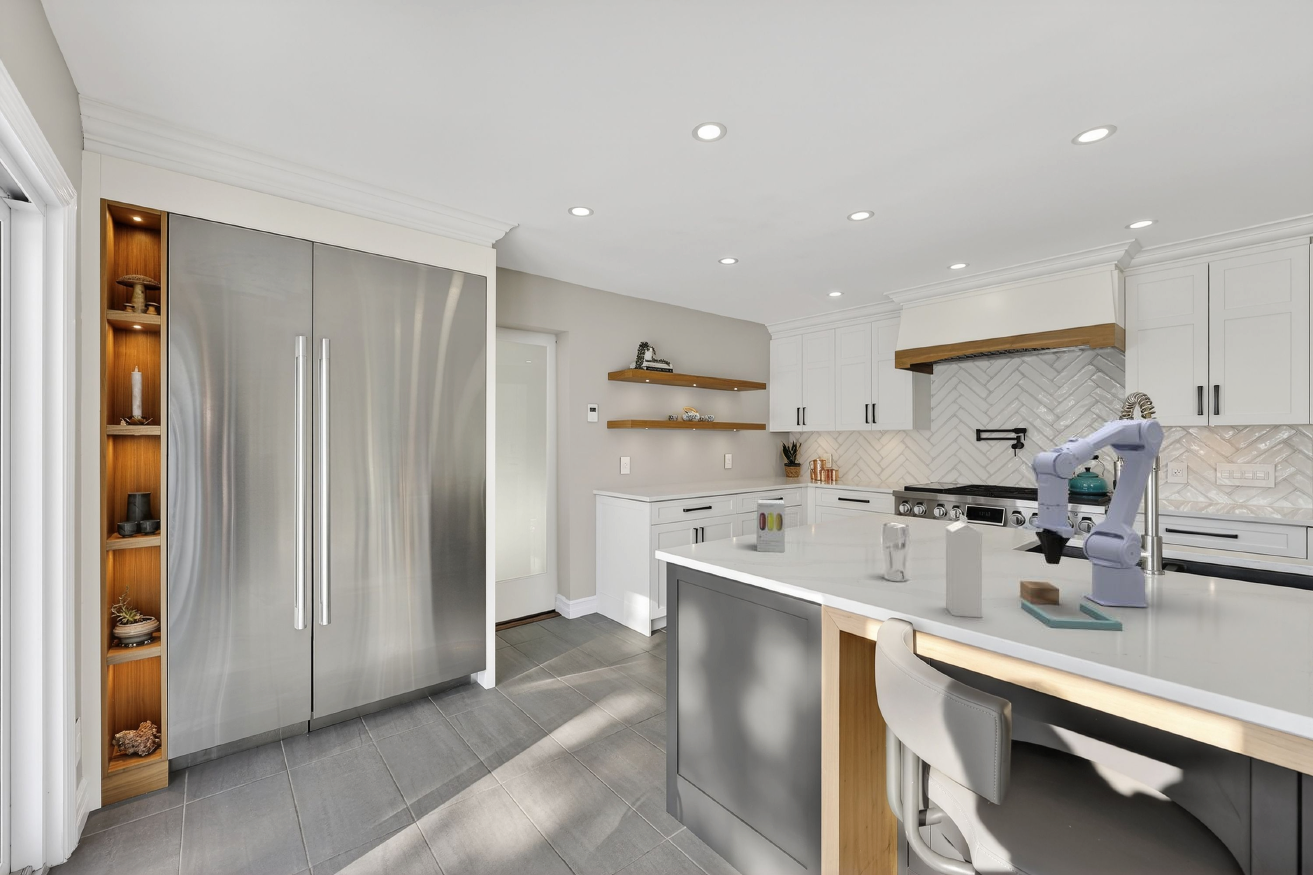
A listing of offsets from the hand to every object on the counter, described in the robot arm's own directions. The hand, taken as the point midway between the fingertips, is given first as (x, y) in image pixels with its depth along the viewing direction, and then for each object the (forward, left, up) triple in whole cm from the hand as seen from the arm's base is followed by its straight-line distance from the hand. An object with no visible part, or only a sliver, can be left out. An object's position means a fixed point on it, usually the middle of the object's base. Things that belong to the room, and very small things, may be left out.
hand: (1052, 563), depth 131 cm
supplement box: (+62, -57, -11) cm, 85 cm away
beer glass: (+29, -22, -11) cm, 38 cm away
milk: (+21, +6, -11) cm, 24 cm away
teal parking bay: (0, +7, -10) cm, 12 cm away
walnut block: (0, -6, -11) cm, 12 cm away
